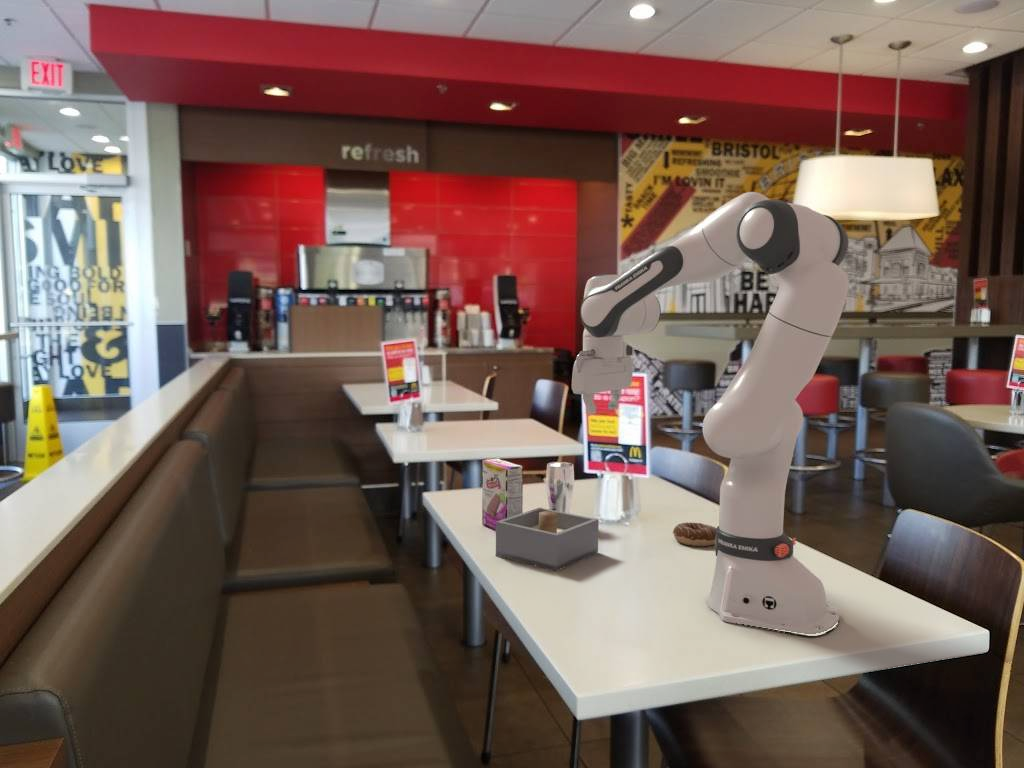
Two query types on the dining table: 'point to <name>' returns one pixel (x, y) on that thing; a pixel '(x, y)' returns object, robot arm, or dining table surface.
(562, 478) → the beer glass
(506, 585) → the dining table surface
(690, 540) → the donut
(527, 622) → the dining table surface
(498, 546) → the open-top box
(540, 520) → the peg
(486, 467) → the candy bar box
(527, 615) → the dining table surface
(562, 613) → the dining table surface
